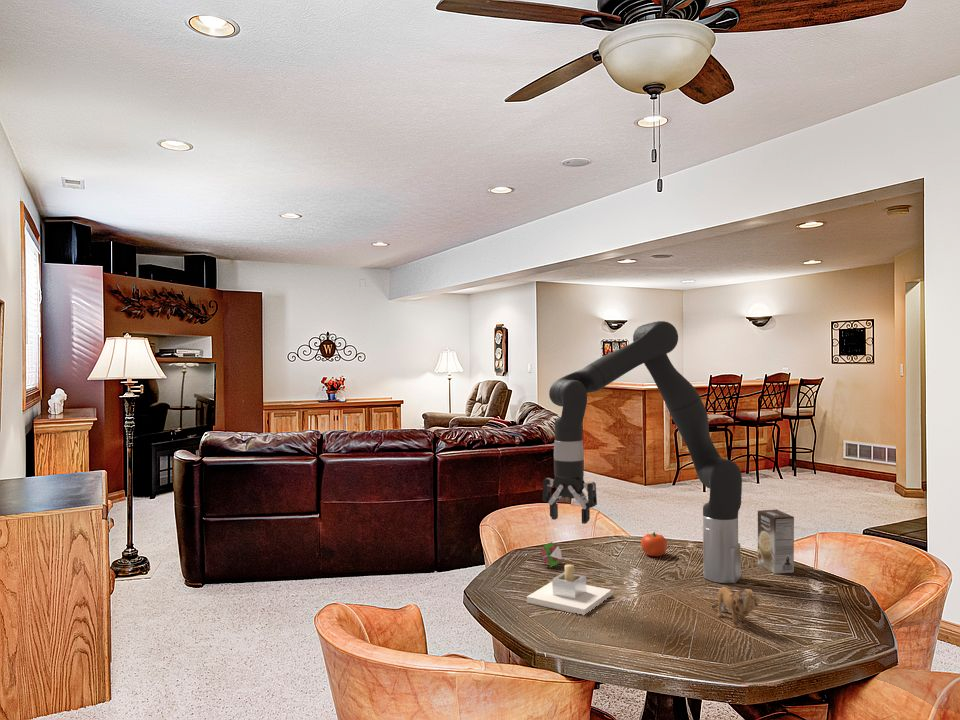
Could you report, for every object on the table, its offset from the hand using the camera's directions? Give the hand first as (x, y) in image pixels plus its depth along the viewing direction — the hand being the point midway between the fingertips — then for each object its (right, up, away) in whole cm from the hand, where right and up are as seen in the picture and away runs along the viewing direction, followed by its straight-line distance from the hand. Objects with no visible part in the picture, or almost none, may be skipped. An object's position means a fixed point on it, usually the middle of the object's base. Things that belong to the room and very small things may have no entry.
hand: (569, 521), depth 173 cm
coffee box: (+63, -19, +23) cm, 69 cm away
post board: (0, -20, 0) cm, 20 cm away
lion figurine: (+37, -20, -15) cm, 44 cm away
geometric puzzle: (-2, -20, +28) cm, 34 cm away
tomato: (+31, -20, +37) cm, 52 cm away
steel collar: (0, -19, 0) cm, 19 cm away
